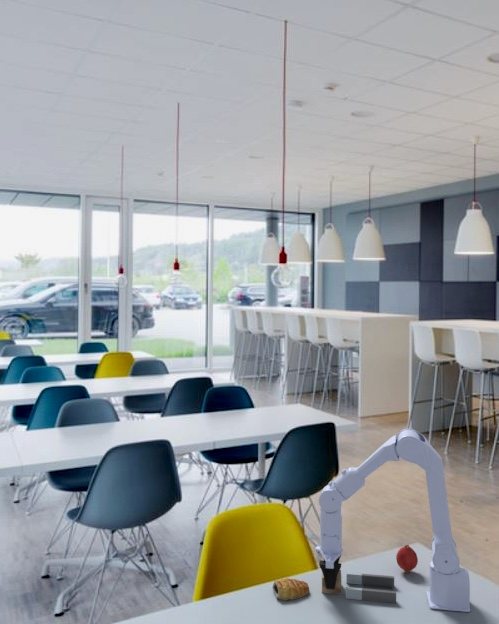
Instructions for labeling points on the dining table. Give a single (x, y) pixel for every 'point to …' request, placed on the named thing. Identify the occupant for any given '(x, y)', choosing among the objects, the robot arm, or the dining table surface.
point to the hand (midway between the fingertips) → (330, 583)
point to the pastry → (290, 588)
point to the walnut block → (337, 586)
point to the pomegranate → (407, 558)
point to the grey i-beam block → (371, 587)
